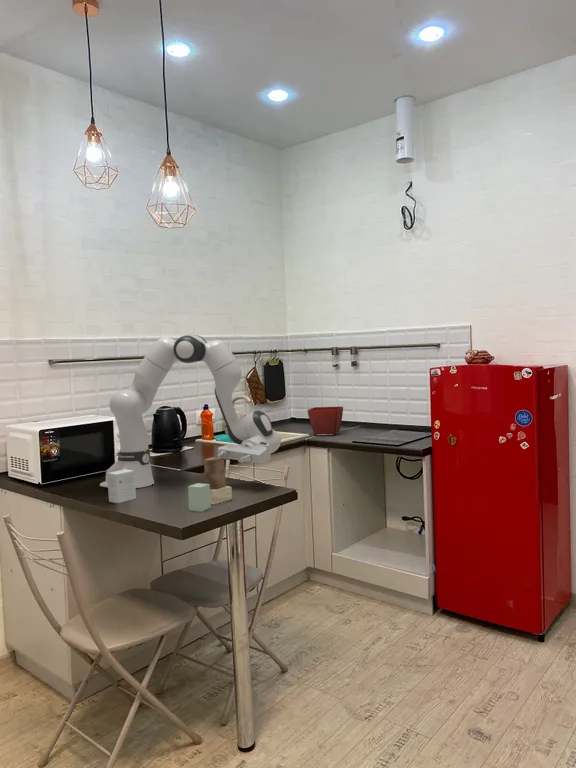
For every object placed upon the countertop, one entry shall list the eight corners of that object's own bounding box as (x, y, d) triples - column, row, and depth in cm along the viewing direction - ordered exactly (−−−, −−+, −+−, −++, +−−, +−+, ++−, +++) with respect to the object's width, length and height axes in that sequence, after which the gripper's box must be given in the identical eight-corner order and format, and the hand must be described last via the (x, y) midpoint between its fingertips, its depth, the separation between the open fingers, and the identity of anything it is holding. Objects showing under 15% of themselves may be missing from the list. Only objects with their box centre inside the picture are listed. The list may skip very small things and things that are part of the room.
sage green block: (189, 510, 191) (188, 486, 191) (198, 506, 196) (197, 483, 195) (201, 511, 189) (200, 487, 189) (210, 508, 193) (209, 484, 193)
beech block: (199, 502, 203) (199, 488, 203) (218, 498, 208) (217, 484, 208) (213, 505, 197) (212, 491, 197) (232, 501, 202) (231, 486, 202)
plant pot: (308, 436, 362) (307, 409, 361) (315, 432, 380) (314, 407, 379) (338, 436, 356) (337, 409, 355) (344, 432, 374) (343, 406, 374)
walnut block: (205, 488, 201) (204, 459, 201) (213, 485, 206) (212, 457, 205) (217, 489, 199) (216, 460, 199) (225, 486, 204) (224, 457, 203)
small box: (127, 497, 215) (125, 468, 215) (136, 498, 212) (134, 470, 211) (108, 501, 209) (106, 472, 209) (117, 503, 205) (115, 474, 205)
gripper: (230, 438, 230) (207, 447, 218) (273, 444, 219) (251, 453, 207) (230, 454, 231) (208, 463, 219) (273, 461, 220) (252, 471, 208)
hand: (229, 458), depth 213 cm, fingers open, 8 cm apart
